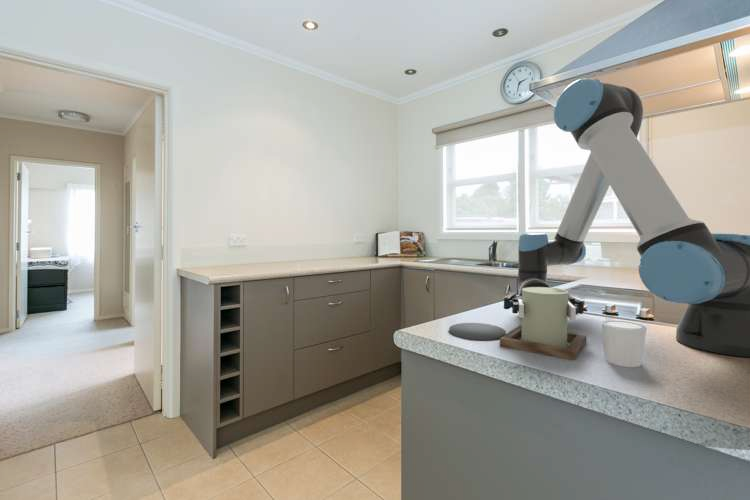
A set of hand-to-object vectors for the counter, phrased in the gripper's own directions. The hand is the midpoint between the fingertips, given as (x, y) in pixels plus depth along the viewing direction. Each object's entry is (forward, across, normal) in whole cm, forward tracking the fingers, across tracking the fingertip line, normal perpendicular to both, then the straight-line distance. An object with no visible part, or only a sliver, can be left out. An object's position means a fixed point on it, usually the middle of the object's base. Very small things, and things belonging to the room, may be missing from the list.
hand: (547, 312), depth 74 cm
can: (-5, 0, -8) cm, 9 cm away
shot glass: (+3, -13, -8) cm, 15 cm away
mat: (-10, +14, -8) cm, 19 cm away
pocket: (-5, 0, -8) cm, 9 cm away
